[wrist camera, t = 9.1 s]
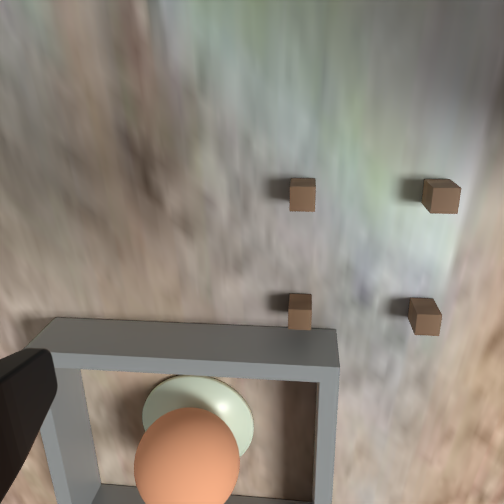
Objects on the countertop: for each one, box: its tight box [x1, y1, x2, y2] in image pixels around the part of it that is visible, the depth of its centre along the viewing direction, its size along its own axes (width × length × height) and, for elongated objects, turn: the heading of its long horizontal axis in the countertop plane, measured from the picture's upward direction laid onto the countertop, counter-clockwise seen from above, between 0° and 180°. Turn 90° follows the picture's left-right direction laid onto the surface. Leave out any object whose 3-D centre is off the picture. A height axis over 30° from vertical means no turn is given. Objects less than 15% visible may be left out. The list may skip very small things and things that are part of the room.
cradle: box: [288, 178, 461, 336], centre depth 19 cm, size 6×6×2 cm
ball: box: [134, 407, 240, 504], centre depth 22 cm, size 5×5×5 cm
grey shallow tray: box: [24, 317, 340, 504], centre depth 23 cm, size 14×12×3 cm
